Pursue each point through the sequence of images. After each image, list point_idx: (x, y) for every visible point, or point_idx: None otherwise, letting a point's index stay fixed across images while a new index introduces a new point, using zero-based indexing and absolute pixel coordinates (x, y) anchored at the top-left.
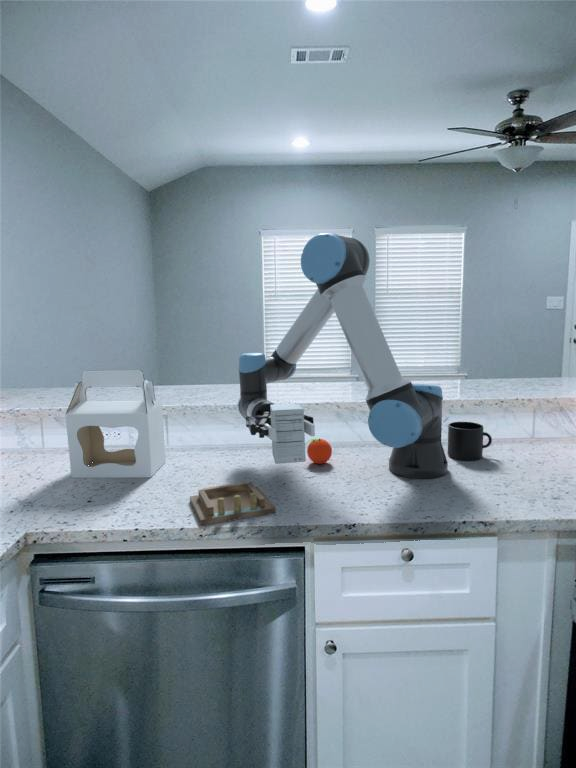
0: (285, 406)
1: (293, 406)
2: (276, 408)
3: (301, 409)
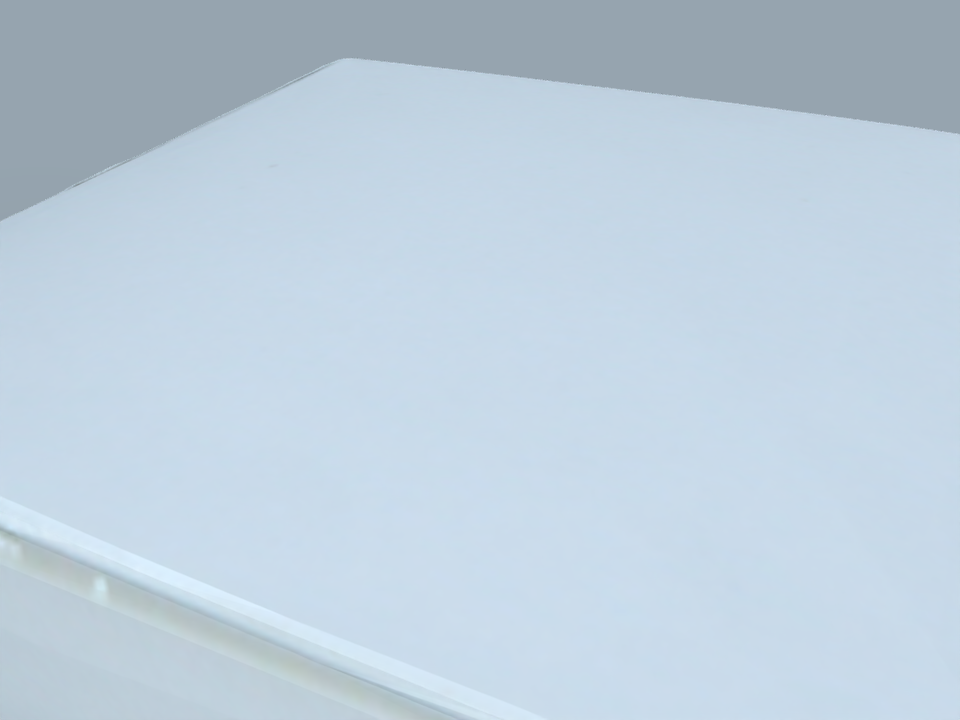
0: (545, 202)
1: (354, 150)
2: (889, 188)
3: (379, 61)
